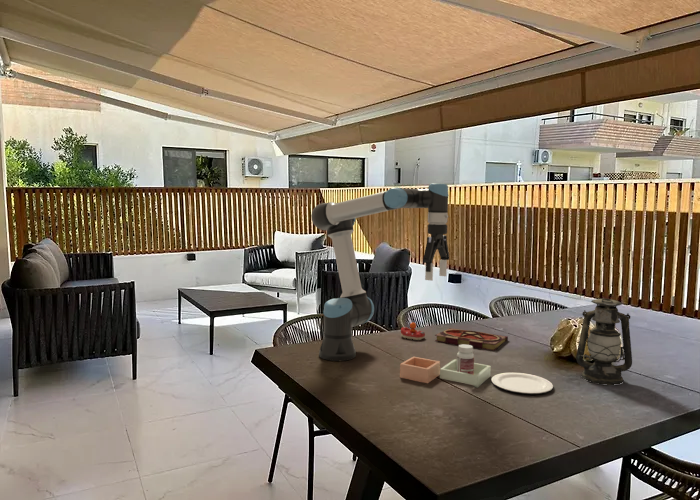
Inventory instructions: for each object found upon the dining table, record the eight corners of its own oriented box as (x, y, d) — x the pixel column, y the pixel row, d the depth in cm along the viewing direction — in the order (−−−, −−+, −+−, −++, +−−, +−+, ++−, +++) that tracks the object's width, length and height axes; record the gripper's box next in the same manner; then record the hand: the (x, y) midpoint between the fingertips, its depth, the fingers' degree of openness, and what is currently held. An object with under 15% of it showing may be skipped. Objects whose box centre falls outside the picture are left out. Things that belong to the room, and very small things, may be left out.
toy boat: (404, 334, 254) (405, 319, 253) (427, 338, 248) (427, 322, 247) (397, 338, 247) (398, 322, 246) (420, 341, 241) (420, 325, 240)
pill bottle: (476, 377, 191) (478, 347, 190) (464, 380, 188) (466, 349, 187) (464, 372, 196) (465, 343, 195) (452, 375, 193) (453, 345, 192)
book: (507, 343, 244) (508, 332, 244) (494, 352, 227) (494, 341, 226) (450, 334, 259) (450, 324, 259) (433, 342, 242) (433, 331, 241)
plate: (522, 401, 171) (522, 396, 171) (478, 381, 189) (479, 377, 189) (566, 391, 180) (566, 386, 180) (521, 373, 199) (521, 369, 199)
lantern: (627, 375, 196) (632, 297, 194) (637, 393, 178) (642, 306, 176) (573, 369, 202) (577, 293, 200) (577, 386, 185) (582, 302, 182)
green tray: (439, 379, 190) (439, 369, 189) (454, 369, 201) (454, 359, 201) (477, 387, 182) (478, 376, 182) (490, 376, 194) (490, 365, 193)
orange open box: (399, 378, 190) (400, 363, 189) (413, 370, 199) (413, 356, 199) (427, 384, 184) (428, 369, 184) (439, 376, 193) (440, 361, 193)
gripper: (433, 225, 189) (432, 283, 191) (458, 223, 210) (456, 275, 212) (414, 224, 193) (413, 281, 195) (441, 222, 214) (439, 273, 216)
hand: (436, 278), depth 204 cm, fingers open, 13 cm apart
